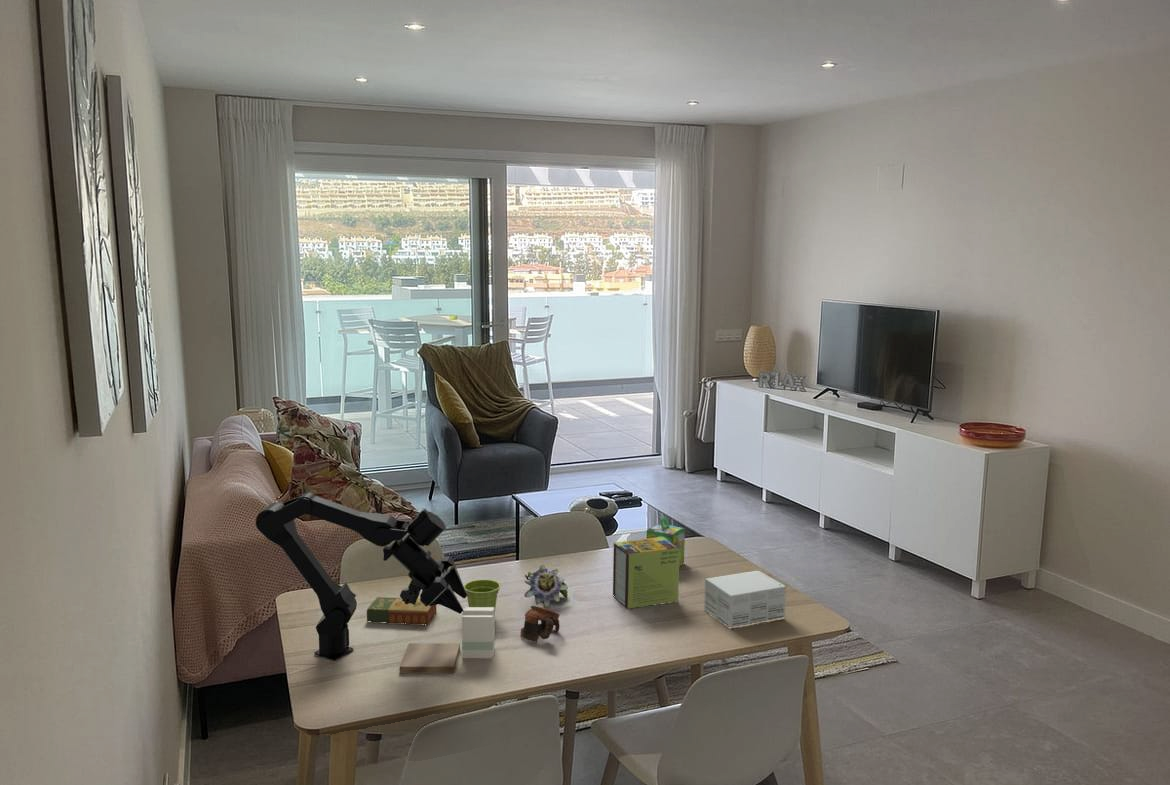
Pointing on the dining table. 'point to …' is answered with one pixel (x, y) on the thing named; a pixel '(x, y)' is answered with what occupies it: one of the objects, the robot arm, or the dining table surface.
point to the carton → (400, 611)
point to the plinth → (430, 658)
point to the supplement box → (744, 598)
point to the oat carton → (478, 632)
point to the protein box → (645, 572)
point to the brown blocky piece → (535, 629)
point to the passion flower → (545, 586)
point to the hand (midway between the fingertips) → (463, 604)
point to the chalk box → (669, 535)
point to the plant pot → (482, 593)
